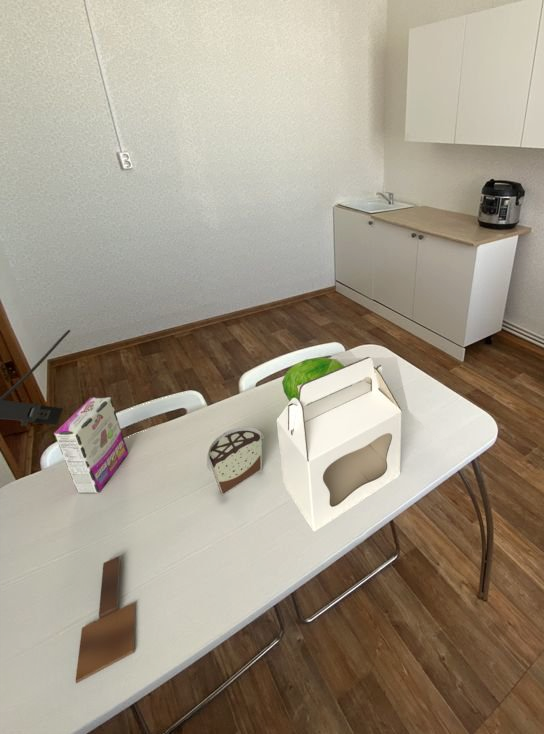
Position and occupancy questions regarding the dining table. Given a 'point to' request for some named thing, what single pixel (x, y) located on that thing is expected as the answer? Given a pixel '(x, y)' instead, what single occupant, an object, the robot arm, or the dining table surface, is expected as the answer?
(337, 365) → the lettuce
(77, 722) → the dining table surface
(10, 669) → the dining table surface
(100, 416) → the candy bar box
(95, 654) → the spatula
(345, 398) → the gable box
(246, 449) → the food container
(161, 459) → the dining table surface
